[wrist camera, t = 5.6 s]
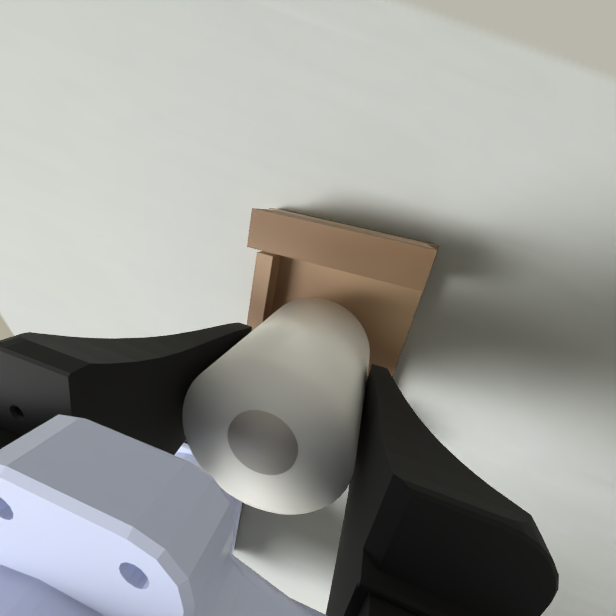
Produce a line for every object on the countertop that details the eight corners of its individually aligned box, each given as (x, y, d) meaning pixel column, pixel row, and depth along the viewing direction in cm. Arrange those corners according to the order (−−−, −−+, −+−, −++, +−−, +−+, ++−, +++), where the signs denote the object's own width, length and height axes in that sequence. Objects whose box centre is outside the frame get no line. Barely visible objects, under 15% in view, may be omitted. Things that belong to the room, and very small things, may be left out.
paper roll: (358, 409, 14) (337, 541, 8) (260, 382, 15) (180, 483, 9) (380, 310, 12) (373, 390, 7) (268, 287, 13) (178, 339, 8)
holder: (371, 428, 17) (366, 484, 14) (248, 385, 19) (214, 426, 15) (434, 244, 14) (452, 254, 10) (276, 208, 15) (240, 205, 11)
